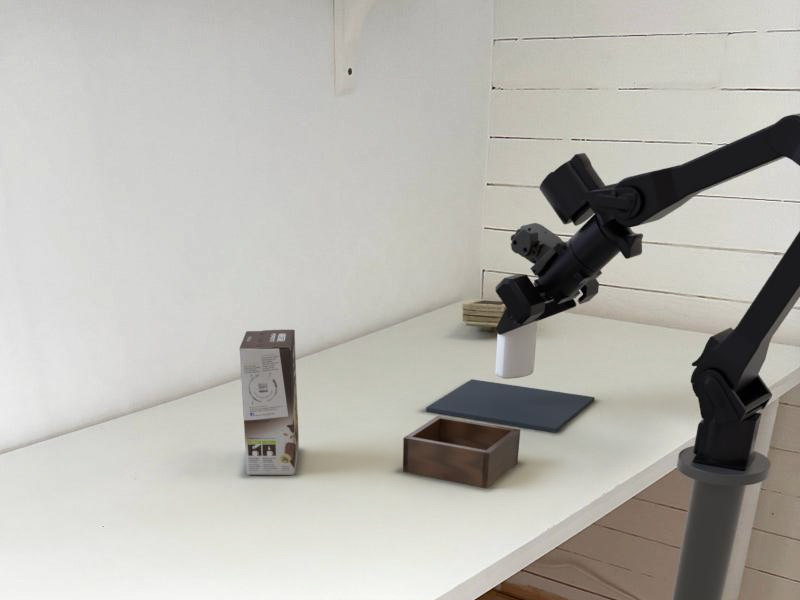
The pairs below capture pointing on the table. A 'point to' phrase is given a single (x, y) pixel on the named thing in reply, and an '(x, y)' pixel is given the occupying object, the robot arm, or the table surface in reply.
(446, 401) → the desk mat
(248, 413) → the coffee box
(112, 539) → the table surface
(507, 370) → the eye dropper bottle
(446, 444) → the desk box
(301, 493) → the table surface
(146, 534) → the table surface
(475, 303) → the box
